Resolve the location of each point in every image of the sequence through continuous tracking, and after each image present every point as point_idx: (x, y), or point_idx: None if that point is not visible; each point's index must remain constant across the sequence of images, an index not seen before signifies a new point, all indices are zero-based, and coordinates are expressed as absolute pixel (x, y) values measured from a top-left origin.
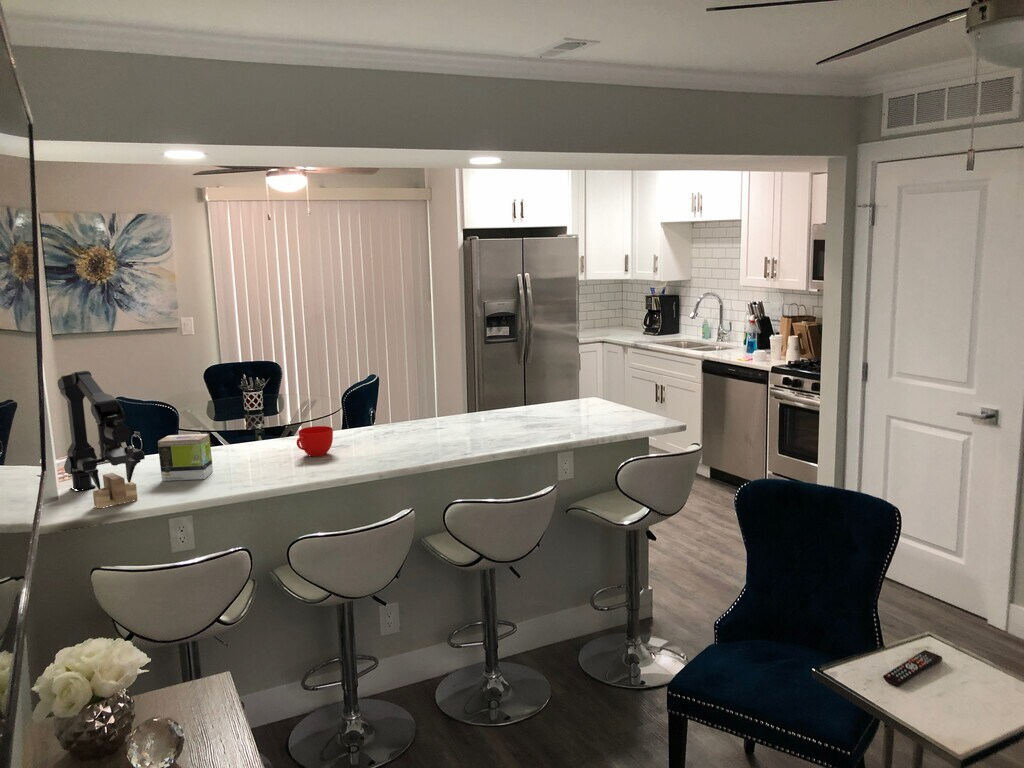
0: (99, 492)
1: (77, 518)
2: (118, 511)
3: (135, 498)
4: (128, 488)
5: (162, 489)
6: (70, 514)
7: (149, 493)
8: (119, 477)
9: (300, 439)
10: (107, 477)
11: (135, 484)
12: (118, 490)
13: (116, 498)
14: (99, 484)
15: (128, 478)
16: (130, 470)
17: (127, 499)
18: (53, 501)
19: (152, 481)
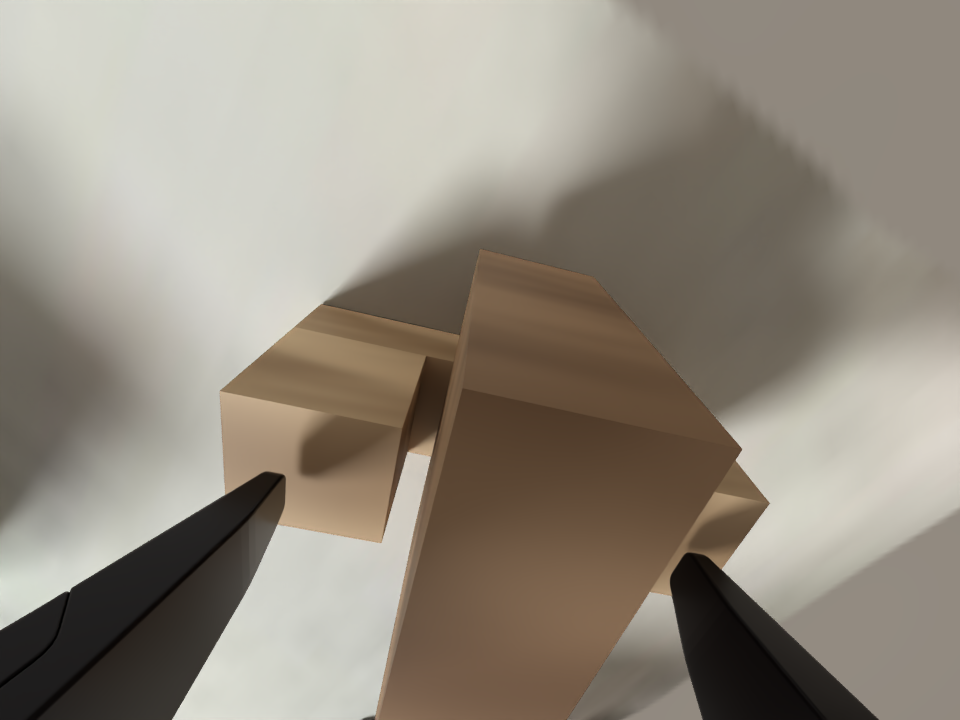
0: (731, 491)
1: (948, 325)
2: (665, 130)
3: (332, 316)
4: (355, 390)
5: (20, 382)
6: (839, 466)
7: (155, 384)
8: (472, 554)
9: None
10: (561, 714)
11: (232, 387)
12: (593, 314)
13: (602, 290)
14: (745, 612)
15: (252, 530)
16: (67, 667)
17: (410, 338)
18: (626, 714)
19: (46, 592)
